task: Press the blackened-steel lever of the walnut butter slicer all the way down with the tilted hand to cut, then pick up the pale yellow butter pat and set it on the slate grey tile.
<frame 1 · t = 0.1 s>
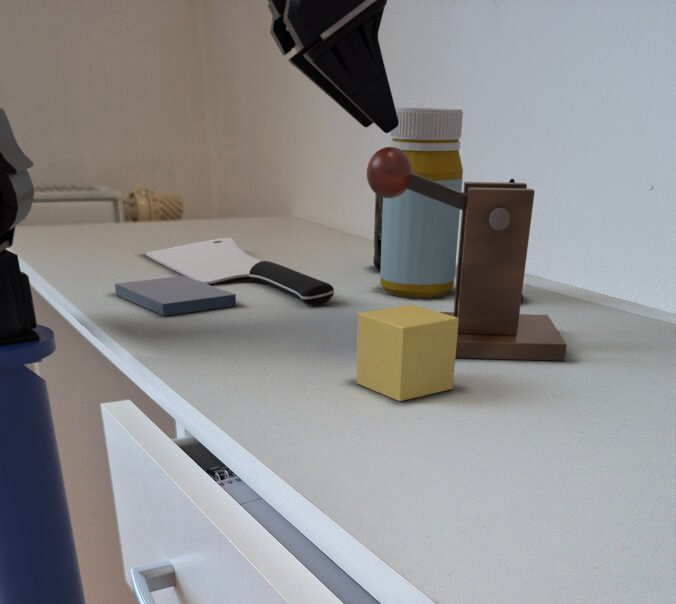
hand: (381, 126, 61), 14 cm above the table, tool tilted 35°, fingers open, 9 cm apart
butter pat: (404, 386, 54), on the table
chess piece: (498, 301, 76), on the table
supplement container: (403, 271, 88), on the table
kitchen cleaver: (235, 278, 84), on the table
bottle: (416, 293, 79), on the table
slicer: (482, 342, 63), on the table
slate grey tile: (174, 300, 74), on the table
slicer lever: (441, 193, 58), point 10 cm above the table, hinge at 18.0°
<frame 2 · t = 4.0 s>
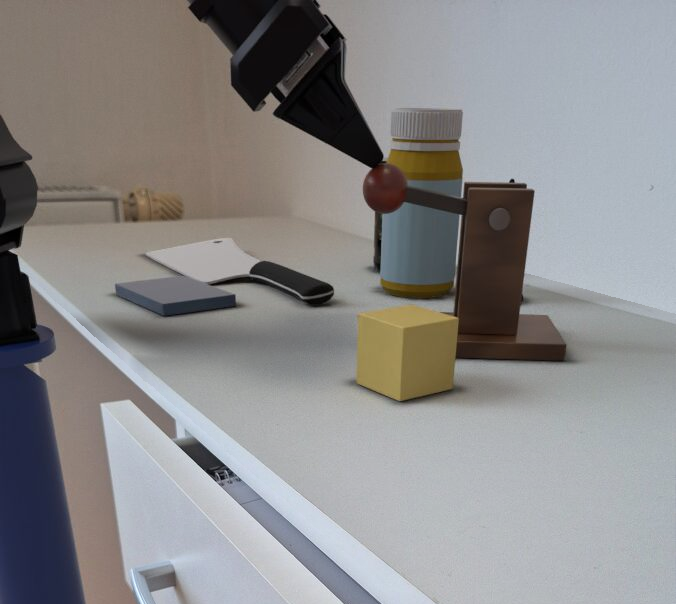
hand: (379, 163, 57), 12 cm above the table, tool tilted 45°, fingers closed, pressing on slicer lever
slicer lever: (439, 201, 58), point 10 cm above the table, hinge at 10.5°, touching gripper
everything else where it was.
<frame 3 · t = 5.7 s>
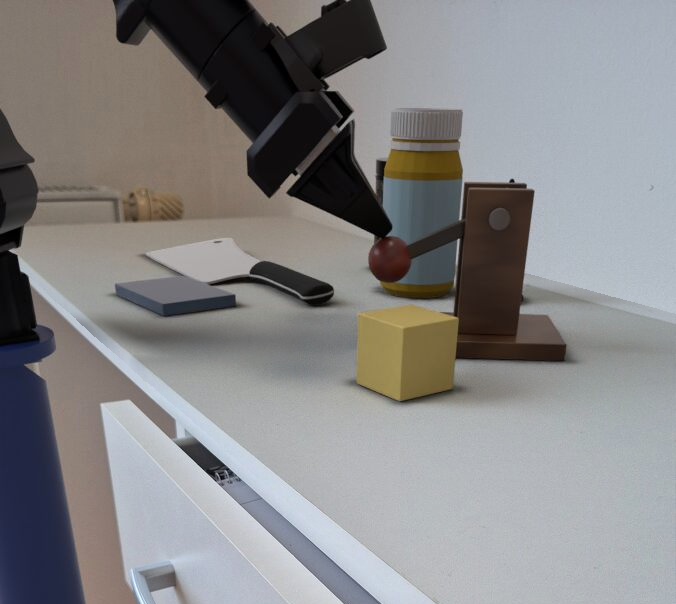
hand: (388, 233, 59), 8 cm above the table, tool tilted 45°, fingers closed, pressing on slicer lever
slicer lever: (440, 237, 59), point 7 cm above the table, hinge at -23.6°, touching gripper
everything else where it was.
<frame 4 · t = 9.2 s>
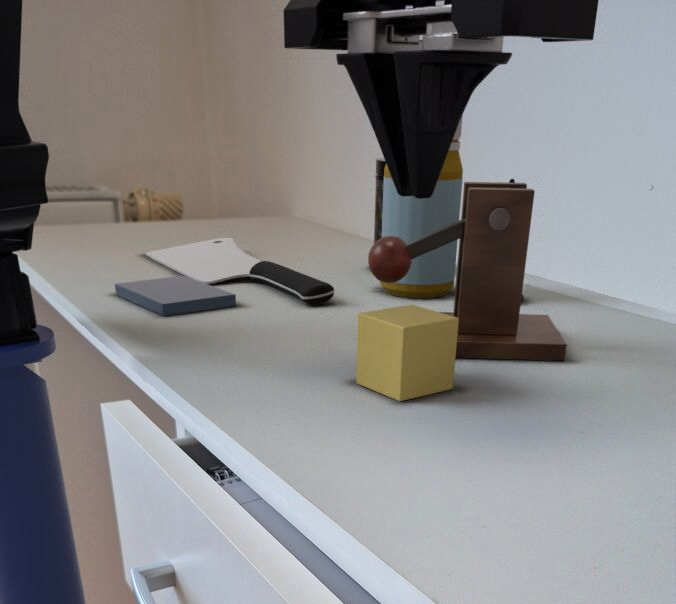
hand: (414, 196, 48), 11 cm above the table, tool pointing down, fingers closed
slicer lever: (440, 237, 59), point 7 cm above the table, hinge at -23.6°
everything else where it was.
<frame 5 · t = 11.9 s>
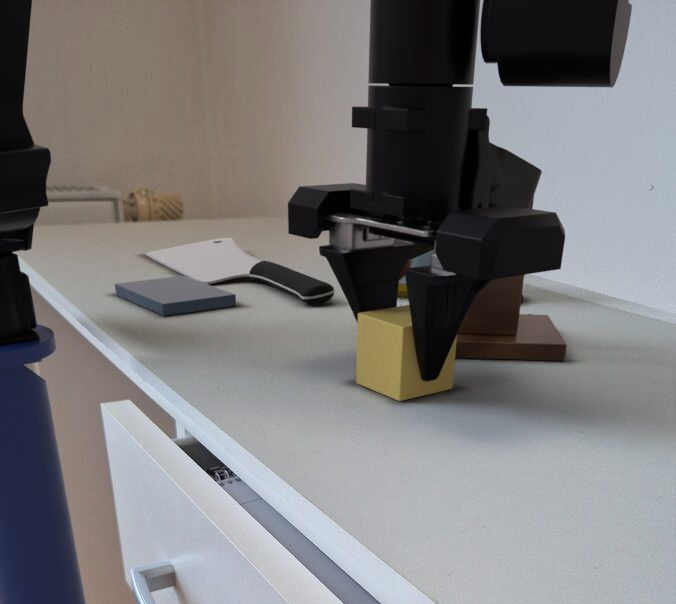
hand: (405, 370, 53), 1 cm above the table, tool pointing down, fingers closed on butter pat, 4 cm apart
butter pat: (403, 386, 54), on the table, touching gripper
everything else where it was.
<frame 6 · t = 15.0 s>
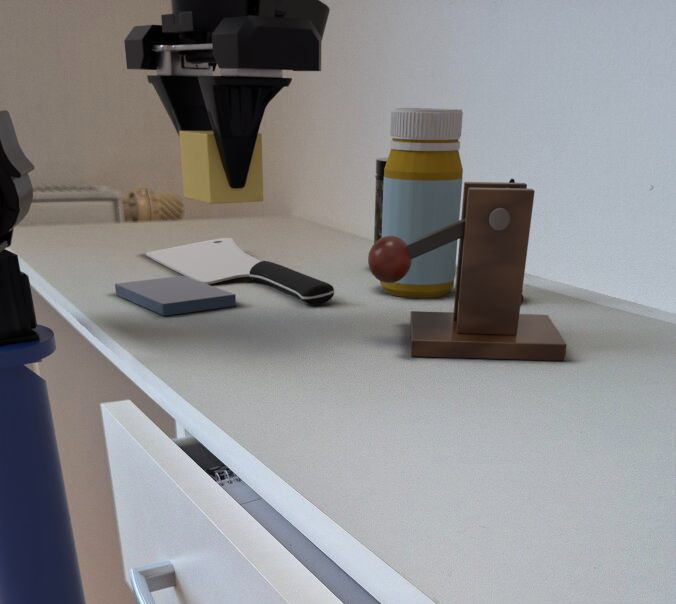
hand: (222, 185, 62), 10 cm above the table, tool pointing down, fingers closed on butter pat, 4 cm apart
butter pat: (223, 199, 63), point 9 cm above the table, touching gripper
everything else where it was.
when the fingers open (2 cm above the table, at t = 18.1 s): butter pat stays where it is, resting on slate grey tile.
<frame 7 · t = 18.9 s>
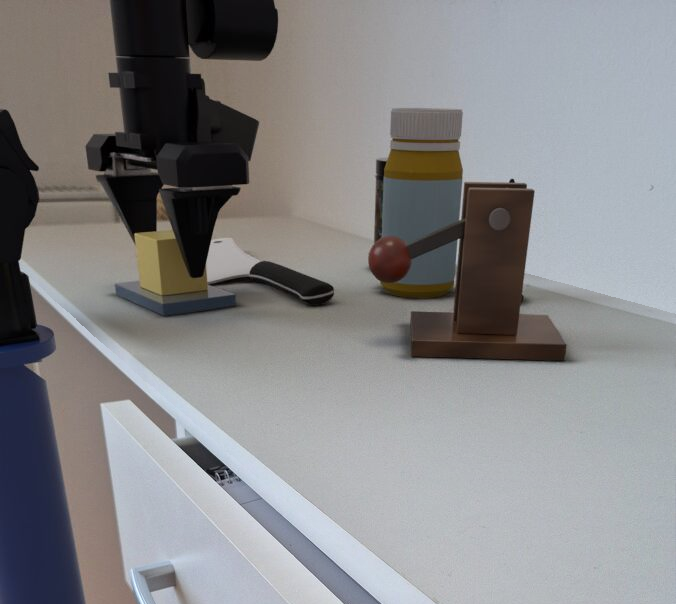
hand: (172, 268, 73), 3 cm above the table, tool pointing down, fingers open, 9 cm apart
butter pat: (173, 288, 74), point 1 cm above the table, touching slate grey tile
everything else where it was.
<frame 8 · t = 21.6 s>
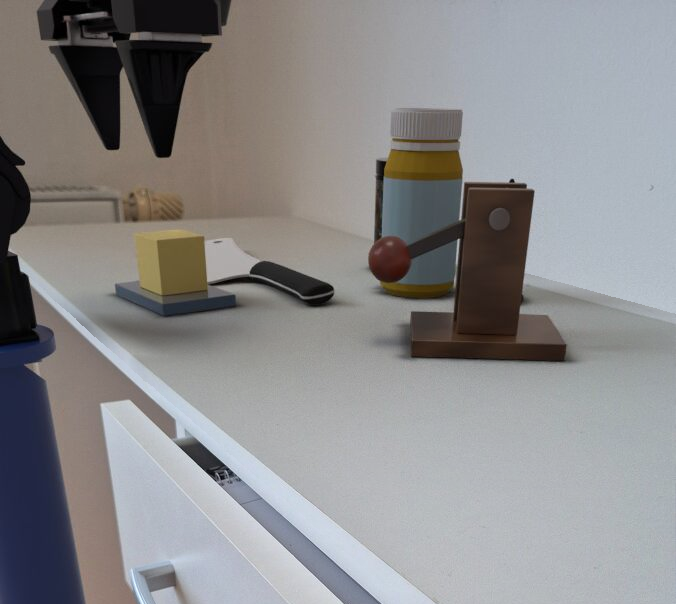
hand: (136, 153, 63), 12 cm above the table, tool pointing down, fingers open, 9 cm apart
nothing on the table moved.
at the end: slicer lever at -24° (first picture: +18°); butter pat inside the target area on the slate grey tile (0.0 cm from its centre), point 1.0 cm above the slate grey tile's base; butter pat tilted 0° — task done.
